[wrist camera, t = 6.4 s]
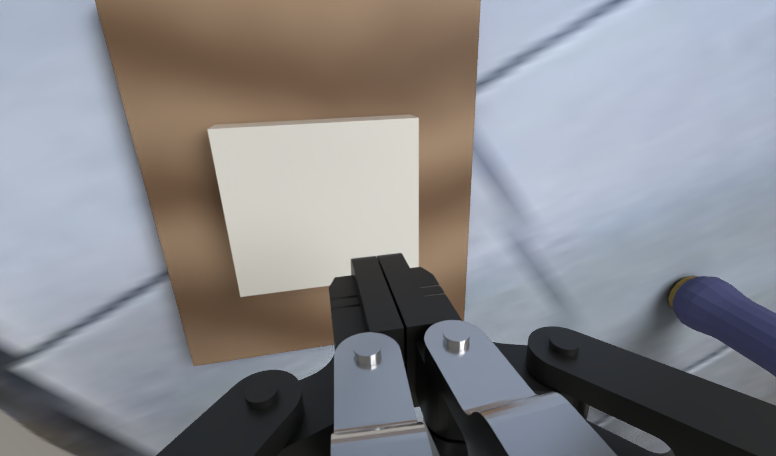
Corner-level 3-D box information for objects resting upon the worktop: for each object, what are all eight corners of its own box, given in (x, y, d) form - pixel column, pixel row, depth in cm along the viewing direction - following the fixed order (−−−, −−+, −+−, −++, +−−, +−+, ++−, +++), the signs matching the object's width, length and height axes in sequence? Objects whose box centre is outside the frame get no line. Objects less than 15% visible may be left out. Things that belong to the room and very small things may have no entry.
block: (408, 114, 19) (215, 124, 18) (418, 117, 18) (207, 129, 16) (410, 259, 22) (245, 279, 21) (418, 274, 21) (240, 296, 19)
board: (107, 1, 16) (93, -4, 15) (470, 2, 19) (480, -3, 18) (198, 352, 23) (193, 366, 22) (456, 313, 26) (463, 324, 25)
